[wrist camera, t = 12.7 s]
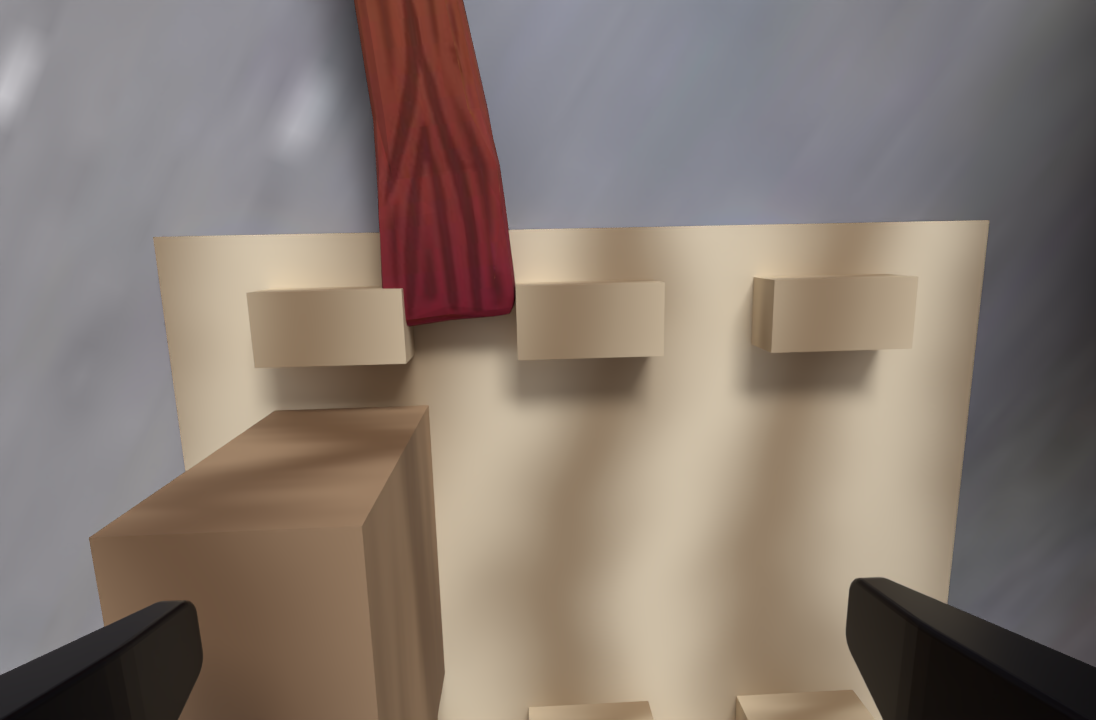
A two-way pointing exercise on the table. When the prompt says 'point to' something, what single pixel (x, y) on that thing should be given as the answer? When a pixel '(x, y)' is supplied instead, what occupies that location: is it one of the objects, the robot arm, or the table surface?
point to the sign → (435, 163)
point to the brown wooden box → (297, 567)
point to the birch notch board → (631, 443)
